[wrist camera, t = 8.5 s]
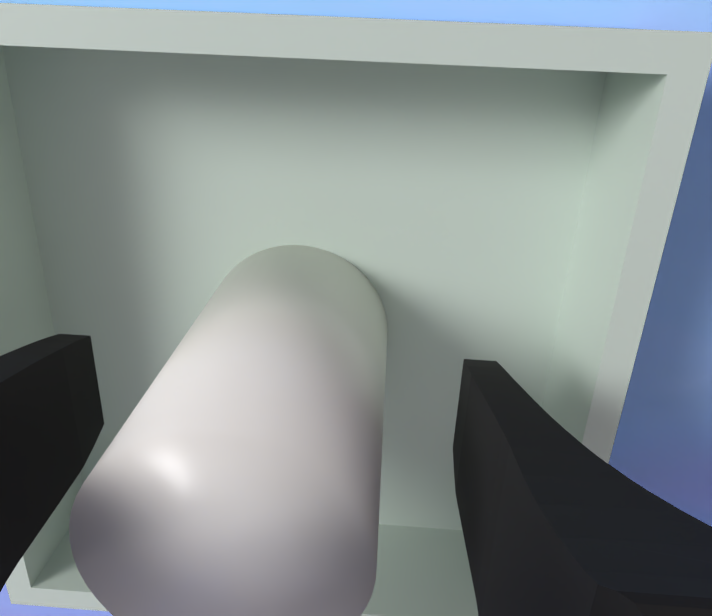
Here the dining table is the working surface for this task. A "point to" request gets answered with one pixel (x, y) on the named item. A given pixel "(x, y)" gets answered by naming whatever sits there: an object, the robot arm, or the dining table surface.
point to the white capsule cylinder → (249, 455)
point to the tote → (344, 219)
